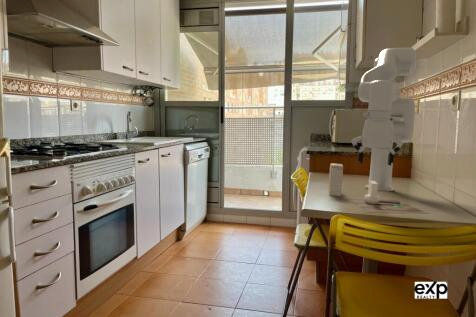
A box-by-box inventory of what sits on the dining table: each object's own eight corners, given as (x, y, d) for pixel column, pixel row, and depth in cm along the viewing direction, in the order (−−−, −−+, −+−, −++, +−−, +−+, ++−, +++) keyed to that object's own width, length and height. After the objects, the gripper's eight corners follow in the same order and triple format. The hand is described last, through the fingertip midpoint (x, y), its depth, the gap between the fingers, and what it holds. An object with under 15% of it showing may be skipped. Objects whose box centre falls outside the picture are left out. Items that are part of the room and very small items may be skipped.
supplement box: (341, 199, 142) (343, 165, 140) (328, 198, 143) (330, 165, 141) (339, 195, 150) (342, 163, 148) (327, 194, 151) (329, 162, 149)
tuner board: (342, 199, 140) (342, 196, 140) (391, 200, 142) (391, 197, 142) (370, 216, 116) (370, 212, 116) (429, 217, 118) (429, 213, 118)
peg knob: (365, 204, 128) (367, 183, 127) (363, 200, 135) (364, 180, 134) (402, 207, 126) (404, 185, 125) (397, 202, 132) (399, 182, 132)
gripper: (354, 115, 126) (350, 164, 128) (407, 117, 122) (403, 167, 125) (352, 115, 133) (349, 161, 136) (402, 116, 130) (398, 164, 132)
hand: (375, 164), depth 130 cm, fingers open, 9 cm apart
